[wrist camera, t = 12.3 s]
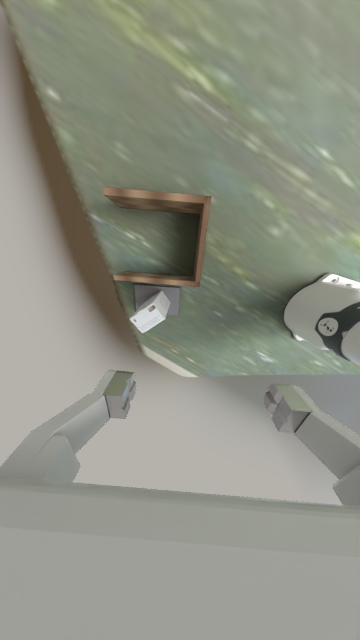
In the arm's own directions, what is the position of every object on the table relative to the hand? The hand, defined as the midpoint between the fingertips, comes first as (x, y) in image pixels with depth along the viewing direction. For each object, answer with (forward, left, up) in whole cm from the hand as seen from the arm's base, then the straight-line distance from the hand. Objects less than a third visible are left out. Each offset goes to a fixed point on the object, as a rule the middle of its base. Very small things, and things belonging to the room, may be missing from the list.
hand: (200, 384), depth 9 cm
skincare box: (+8, +5, -30) cm, 32 cm away
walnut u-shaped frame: (+7, -9, -31) cm, 33 cm away
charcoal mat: (+8, +5, -31) cm, 32 cm away
